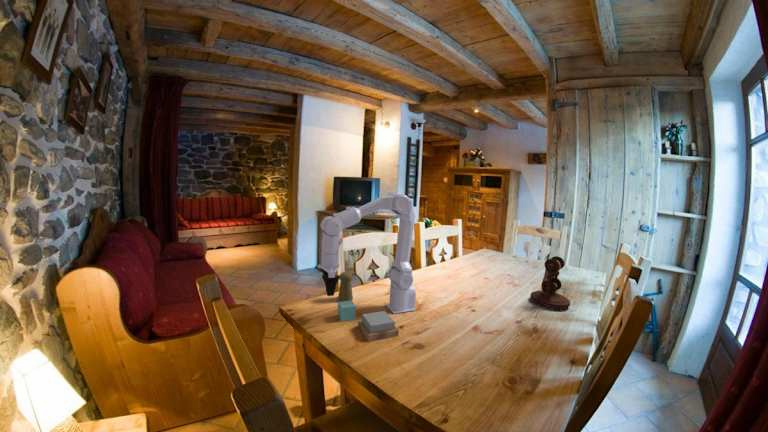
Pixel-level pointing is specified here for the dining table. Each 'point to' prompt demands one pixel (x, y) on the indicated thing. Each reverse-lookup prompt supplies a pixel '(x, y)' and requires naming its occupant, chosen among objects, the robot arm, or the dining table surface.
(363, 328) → the walnut block
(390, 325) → the grey block
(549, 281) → the dark brown carved statue
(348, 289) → the olive upright rounded piece
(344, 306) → the teal cube
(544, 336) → the dining table surface
